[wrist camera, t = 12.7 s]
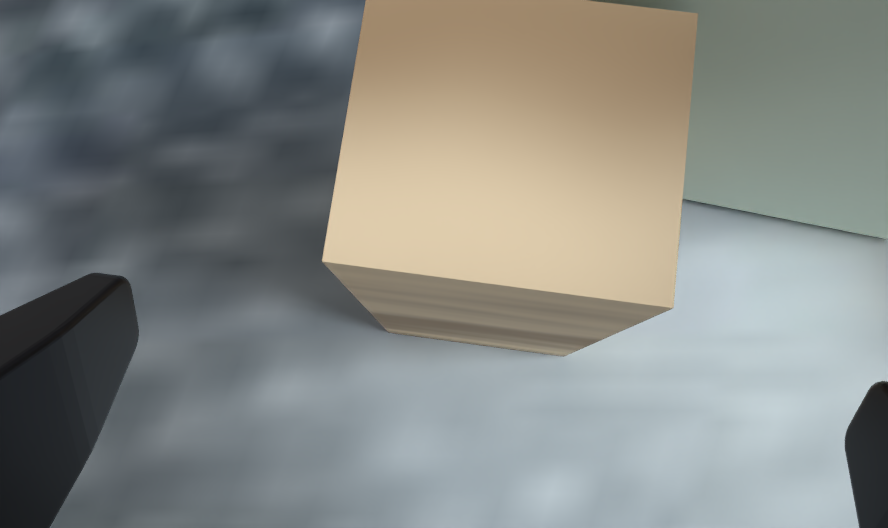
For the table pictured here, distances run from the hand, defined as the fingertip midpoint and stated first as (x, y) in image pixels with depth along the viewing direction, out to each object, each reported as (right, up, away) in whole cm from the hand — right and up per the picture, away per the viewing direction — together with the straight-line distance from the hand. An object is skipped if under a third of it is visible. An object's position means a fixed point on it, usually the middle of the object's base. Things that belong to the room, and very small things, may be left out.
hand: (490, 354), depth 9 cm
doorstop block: (+1, +1, +13) cm, 13 cm away
